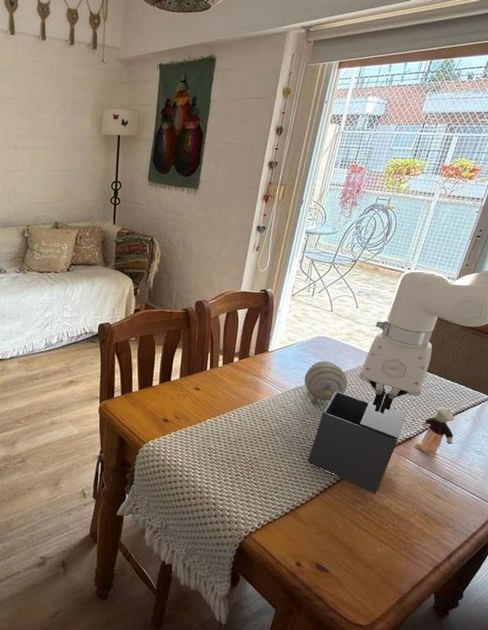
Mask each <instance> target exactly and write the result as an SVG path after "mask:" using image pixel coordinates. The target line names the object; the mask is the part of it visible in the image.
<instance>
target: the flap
mask: <svg viewBox="0 0 488 630" xmlns="http://www.w3.org/2000/svg"><path fill="white" fill-rule="evenodd" d="M373 402H374V400H369V402H368V403H369V404H368V406H367V409H366V411H365V413H364V415H363V418H362V420H361V422H360V425H362V426H365V427H367V428H370V429H373V430H375V431H378V432H381V433H383V434H386V435H389V436H391V437H394V438H397V439H398V440H399V437H400V434H401V431H400V430H402V427H403V424H402V423H404V421H405V416H406V412H405V411H403V410H399V409H397V408H395V407H391V406H390V409H389V410H387V409H385V411H384V413H383V414H382V413H381V412H380V410H379V412H377V411H375V409H376V406H375V405H373ZM382 404H383V403H382ZM382 404H381V407H382ZM381 407H380V409H381ZM399 433H400V434H399Z"/></svg>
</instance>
